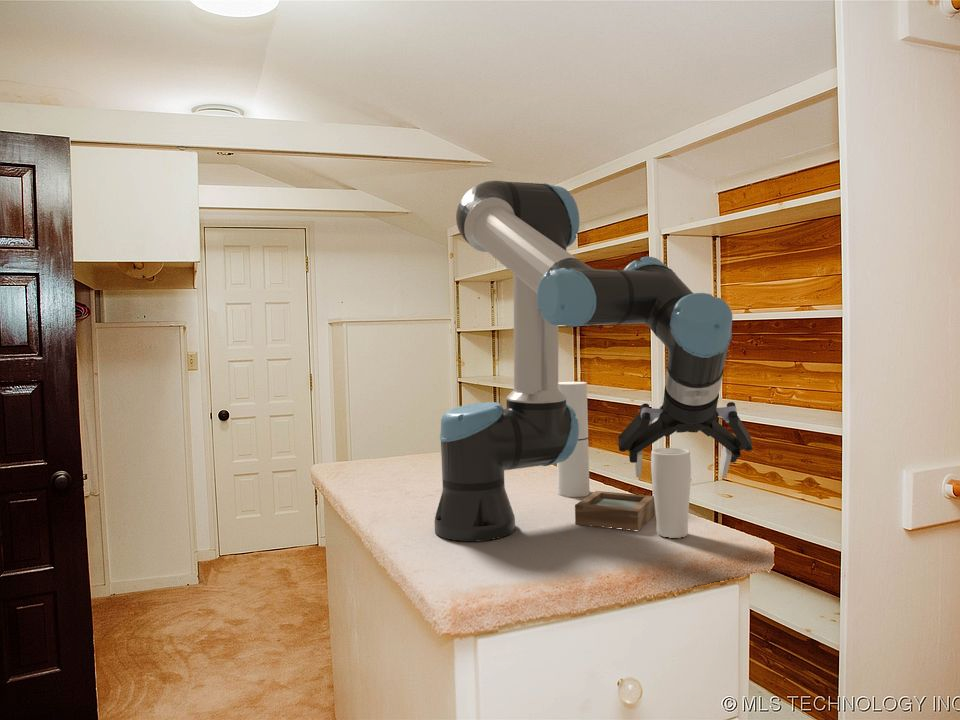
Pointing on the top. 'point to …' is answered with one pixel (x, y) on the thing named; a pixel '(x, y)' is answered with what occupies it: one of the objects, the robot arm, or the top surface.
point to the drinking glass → (671, 490)
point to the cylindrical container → (577, 465)
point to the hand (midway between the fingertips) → (679, 470)
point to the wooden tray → (615, 510)
